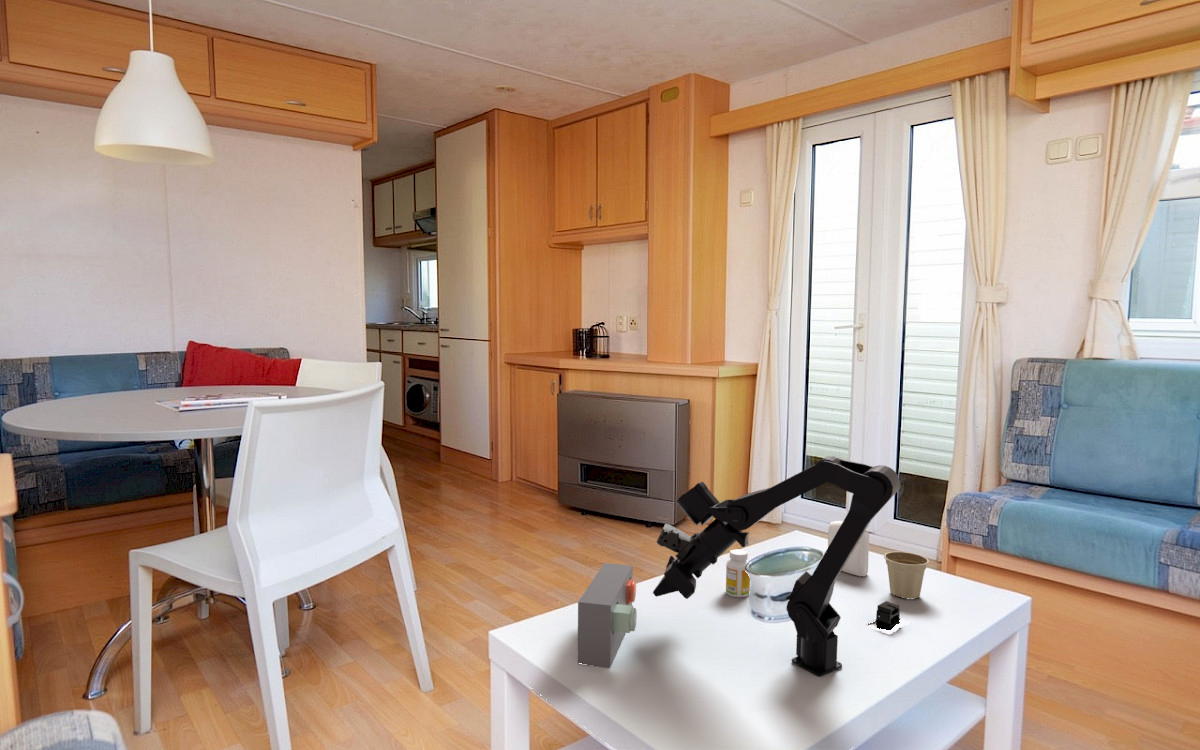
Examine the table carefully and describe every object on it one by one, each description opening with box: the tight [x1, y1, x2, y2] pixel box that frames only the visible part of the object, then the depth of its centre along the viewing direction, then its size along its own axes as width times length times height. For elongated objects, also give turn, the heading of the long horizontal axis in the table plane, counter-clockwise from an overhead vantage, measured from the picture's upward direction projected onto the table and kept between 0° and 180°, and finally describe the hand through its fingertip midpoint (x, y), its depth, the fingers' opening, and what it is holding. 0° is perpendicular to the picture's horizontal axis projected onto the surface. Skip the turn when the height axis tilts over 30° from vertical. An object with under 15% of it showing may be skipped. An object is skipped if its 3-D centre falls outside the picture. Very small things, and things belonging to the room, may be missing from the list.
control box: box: [577, 562, 634, 669], centre depth 135 cm, size 6×21×12 cm, turn 167°
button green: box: [613, 604, 638, 634], centre depth 128 cm, size 5×4×4 cm
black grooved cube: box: [866, 600, 901, 630], centre depth 144 cm, size 12×7×5 cm, turn 131°
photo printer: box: [827, 520, 870, 577], centre depth 175 cm, size 10×4×12 cm, turn 37°
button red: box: [626, 579, 637, 604], centre depth 141 cm, size 5×4×4 cm
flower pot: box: [883, 551, 930, 599], centre depth 160 cm, size 9×9×9 cm
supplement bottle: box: [725, 548, 751, 598], centre depth 159 cm, size 5×5×10 cm
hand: (654, 594), depth 139 cm, fingers closed
